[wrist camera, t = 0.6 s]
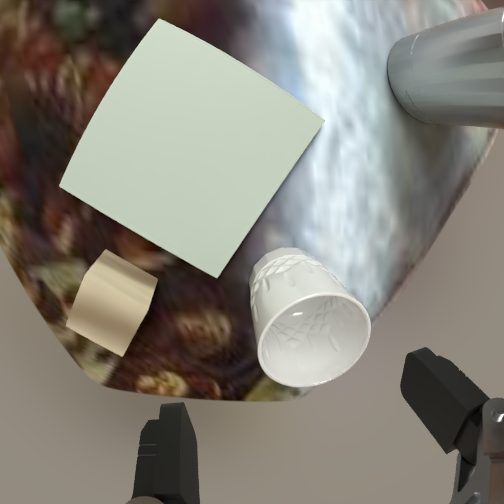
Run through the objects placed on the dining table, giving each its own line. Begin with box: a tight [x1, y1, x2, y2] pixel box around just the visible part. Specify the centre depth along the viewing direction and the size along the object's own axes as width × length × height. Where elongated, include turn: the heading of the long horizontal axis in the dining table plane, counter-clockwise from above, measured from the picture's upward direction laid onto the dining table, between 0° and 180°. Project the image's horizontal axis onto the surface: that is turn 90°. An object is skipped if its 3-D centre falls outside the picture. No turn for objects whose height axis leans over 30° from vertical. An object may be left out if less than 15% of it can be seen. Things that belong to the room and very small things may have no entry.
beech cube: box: [66, 250, 158, 357], centre depth 25 cm, size 6×6×6 cm
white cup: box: [249, 247, 371, 387], centre depth 24 cm, size 8×8×10 cm
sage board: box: [59, 19, 325, 278], centre depth 23 cm, size 16×16×1 cm
